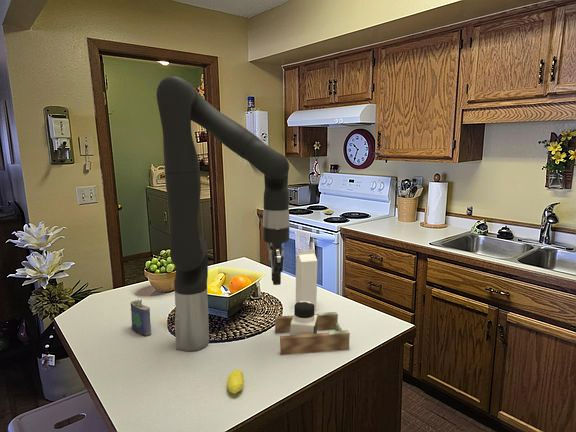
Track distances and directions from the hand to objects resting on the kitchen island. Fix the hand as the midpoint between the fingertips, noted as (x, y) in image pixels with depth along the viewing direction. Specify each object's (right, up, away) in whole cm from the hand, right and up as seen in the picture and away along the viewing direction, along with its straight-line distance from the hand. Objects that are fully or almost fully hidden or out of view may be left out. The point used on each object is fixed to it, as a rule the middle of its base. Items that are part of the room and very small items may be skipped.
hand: (276, 282), depth 113 cm
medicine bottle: (+8, -19, +5) cm, 21 cm away
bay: (+10, -18, +5) cm, 22 cm away
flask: (-43, -17, +10) cm, 48 cm away
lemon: (-9, -23, -17) cm, 31 cm away
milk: (+10, -14, +27) cm, 32 cm away
